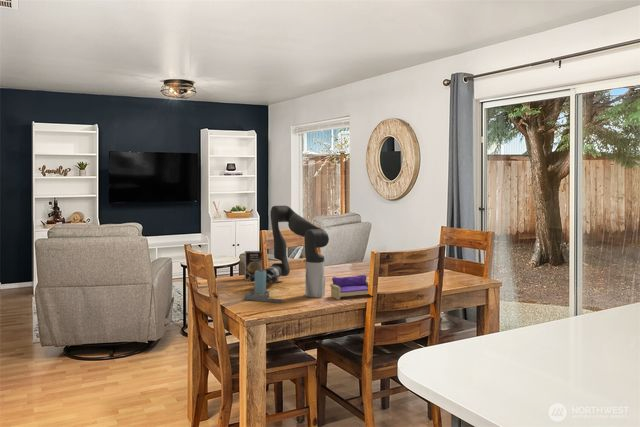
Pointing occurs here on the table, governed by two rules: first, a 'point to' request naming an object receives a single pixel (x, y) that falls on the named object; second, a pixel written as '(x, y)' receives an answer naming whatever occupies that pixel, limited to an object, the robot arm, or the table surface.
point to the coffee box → (252, 263)
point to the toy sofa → (349, 286)
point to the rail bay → (260, 297)
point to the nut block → (260, 281)
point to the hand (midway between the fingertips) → (259, 280)
